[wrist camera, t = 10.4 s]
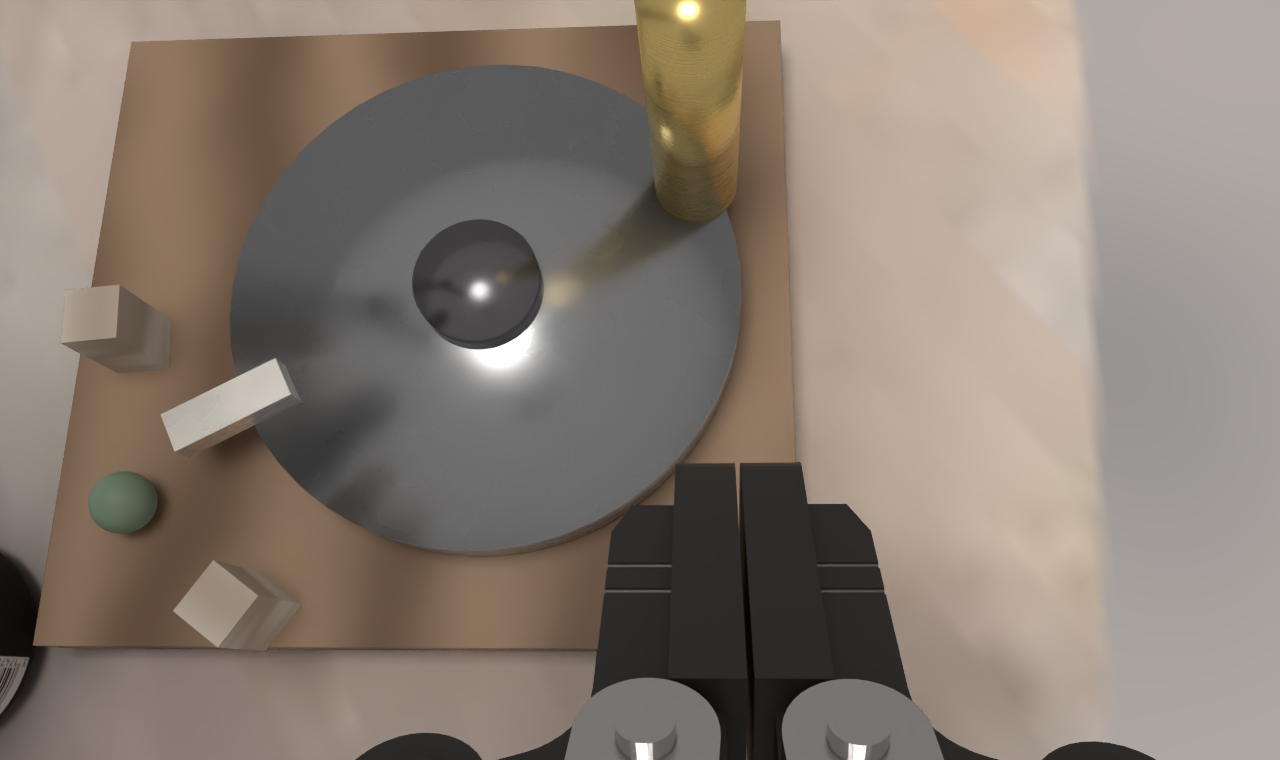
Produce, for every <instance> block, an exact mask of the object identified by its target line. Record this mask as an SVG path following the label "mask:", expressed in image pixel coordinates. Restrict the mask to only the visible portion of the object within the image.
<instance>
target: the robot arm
mask: <svg viewBox="0 0 1280 760" xmlns="http://www.w3.org/2000/svg"><path fill="white" fill-rule="evenodd" d="M746 746H747V760H997V759H994V758H990V757H987V756H984V755H981V754H977V753H974V752H972V751H970V750H968V749H965V748H963V747H961V746H959V745H957V744H955V743H954V742H952V741H950V740H949V739H947V738H946V737H944V736H943V735H942V734H940V733H939V732H938V731H936V730H935V729H934V728H933V727H932V725H931V723H930V721H929V720H928V718H927V717H926V715H925V714H924V713H923V711H922V710H921V709H920V708H919V707H918V706H917V705H916V704H915V703H914V702H913V701H912V699H911V696H910V693H909V690H908V687H907V682H906V678H905V674H904V670H903V665H902V661H901V657H900V653H899V648H898V644H897V640H896V636H895V632H894V627H893V623H892V619H891V615H890V610H889V606H888V602H887V598H886V594H884V585H883V581H882V577H881V572H880V568H878V560H877V555H876V551H875V547H874V543H873V538H872V534H871V531H870V530H869V529H868V527H867V526H866V525H865V524H864V523H863V522H862V521H861V520H860V519H859V517H858V516H857V515H856V514H855V513H854V512H853V511H852V510H851V509H850V507H849V506H848V505H847V504H807V497H806V491H805V485H804V478H803V472H802V466H801V463H800V462H792V463H740V475H739V522H738V504H737V486H736V469H735V463H677V464H675V488H674V505H632V506H631V507H630V508H629V510H628V511H627V512H626V514H625V515H624V516H623V517H622V519H621V520H620V521H619V523H618V524H617V525H616V527H615V528H614V529H613V530H612V532H611V539H610V547H609V556H608V569H607V573H606V581H605V594H604V598H603V607H602V615H601V624H600V632H599V641H598V649H597V658H596V666H595V675H594V683H593V690H592V694H591V698H590V699H589V700H588V701H587V702H586V703H585V704H584V705H583V707H582V708H581V709H580V711H579V712H578V714H577V716H576V717H575V720H574V723H573V726H572V727H571V728H570V729H568V730H567V731H566V732H565V733H564V734H562V735H561V736H559V737H558V738H556V739H555V740H553V741H551V742H550V743H548V744H545V745H543V746H541V747H539V748H537V749H534V750H531V751H528V752H525V753H521V754H517V755H514V756H510V757H506V758H502V759H499V760H746ZM356 760H482V759H481V758H480V756H479V755H478V753H477V752H476V751H474V750H473V749H472V748H471V747H470V746H469V745H467V744H466V743H464V742H462V741H461V740H458V739H456V738H453V737H451V736H447V735H442V734H436V733H417V734H409V735H405V736H400V737H397V738H394V739H391V740H388V741H385V742H383V743H381V744H379V745H377V746H375V747H373V748H372V749H370V750H369V751H367V752H365V753H364V754H362V755H361V756H360V757H358V758H357V759H356ZM1043 760H1155V759H1154V758H1152V757H1150V756H1148V755H1145V754H1143V753H1141V752H1139V751H1136V750H1133V749H1130V748H1127V747H1125V746H1120V745H1116V744H1111V743H1104V742H1079V743H1073V744H1068V745H1066V746H1063V747H1060V748H1058V749H1056V750H1054V751H1053V752H1051V753H1049V754H1048V755H1047V756H1046V757H1045V758H1044V759H1043Z"/></svg>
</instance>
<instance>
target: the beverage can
mask: <svg viewBox="0 0 1280 760" xmlns="http://www.w3.org/2000/svg"><path fill="white" fill-rule="evenodd" d="M35 629H36V614H35V607H34V603H33V599H32V596H31V593H30V590H29V588H28V586H27V584H26V582H25V580H24V578H23V576H22V575H21V574H20V572H19V571H18V570H17V568H16V567H15V566H14V565H13V564H12V563H11V562H10V561H9V560H8V559H7V558H6V557H5V556H4V555H2V554H1V553H0V718H1V716H2V715H3V714H4V713H5V712H6V711H7V709H8V708H9V706H10V705H11V704H12V702H13V701H14V700H15V698H16V696H17V694H18V693H19V691H20V689H21V687H22V686H23V683H24V681H25V679H26V676H27V674H28V672H29V669H30V665H31V662H32V659H33V655H34V650H35V646H33V641H34V635H35Z"/></svg>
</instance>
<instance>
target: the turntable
mask: <svg viewBox="0 0 1280 760" xmlns="http://www.w3.org/2000/svg"><path fill="white" fill-rule="evenodd" d="M504 64H506V65H521V66H535V67H541V68H547V69H552V70H557V71H562V72H567V73H570V74H574V75H577V76H580V77H583V78H586V79H589V80H592V81H595V82H598V83H600V84H602V85H604V86H606V87H609V88H611V89H613V90H615V91H617V92H619V93H622V94H624V95H625V96H627V97H629V98H630V99H632V100H633V101H635V102H636V103H638V104H640V105H641V106H643V107H644V108H646V100H645V91H644V82H643V73H642V64H641V55H640V46H639V37H638V28H637V25H629V26H599V27H568V28H538V29H508V30H478V31H447V32H417V33H387V34H356V35H326V36H296V37H266V38H235V39H205V40H175V41H144V42H132V43H131V49H130V55H129V61H128V67H127V73H126V79H125V85H124V92H123V98H122V104H121V110H120V116H119V122H118V128H117V134H116V140H115V147H114V153H113V159H112V165H111V171H110V177H109V183H108V189H107V195H106V202H105V208H104V214H103V220H102V226H101V232H100V238H99V244H98V250H97V257H96V263H95V269H94V275H93V281H92V287H91V288H81V289H71V290H65V296H64V309H63V321H62V333H61V343H62V344H64V345H65V346H67V347H69V348H71V349H73V350H75V351H77V352H79V353H81V354H80V360H79V367H78V373H77V379H76V385H75V391H74V397H73V403H72V409H71V415H70V421H69V428H68V434H67V440H66V446H65V452H64V458H63V464H62V470H61V476H60V483H59V489H58V495H57V501H56V507H55V513H54V519H53V525H52V531H51V538H50V544H49V550H48V556H47V562H46V568H45V574H44V580H43V586H42V593H41V599H40V605H39V611H38V617H37V623H36V629H35V635H34V641H33V646H47V647H63V648H144V649H242V650H254V651H266V650H267V649H331V650H518V651H597V649H598V641H599V632H600V624H601V615H602V607H603V598H604V594H605V581H606V573H607V569H608V556H609V547H610V539H611V532H612V530H613V529H614V528H615V527H616V525H617V524H618V523H619V521H620V520H621V519H622V517H623V516H624V515H625V514H626V513H624V514H623V515H621V516H619V517H618V518H616V519H614V520H613V521H611V522H609V523H608V524H606V525H604V526H603V527H601V528H599V529H596V530H594V531H592V532H590V533H587V534H585V535H583V536H580V537H578V538H576V539H574V540H571V541H568V542H565V543H562V544H558V545H555V546H551V547H548V548H544V549H541V550H537V551H532V552H525V553H518V554H512V555H505V556H474V557H468V556H459V555H450V554H441V553H434V552H430V551H426V550H422V549H418V548H414V547H411V546H407V545H403V544H400V543H398V542H395V541H393V540H391V539H388V538H386V537H383V536H381V535H378V534H376V533H373V532H371V531H369V530H367V529H365V528H362V527H360V526H358V525H356V524H354V523H352V522H351V521H349V520H347V519H346V518H344V517H342V516H341V515H339V514H337V513H335V512H334V511H332V510H330V509H329V508H327V507H326V506H324V505H323V504H322V503H321V502H319V501H318V500H317V499H316V498H314V497H313V496H312V495H311V494H309V493H308V492H307V491H306V490H304V489H303V488H302V487H301V486H300V485H299V484H298V483H297V482H296V481H295V480H294V479H293V478H292V477H291V476H290V475H289V474H288V473H287V471H286V470H285V469H284V468H283V467H282V466H281V465H280V464H279V463H278V461H277V460H276V459H275V457H274V456H273V454H272V453H271V451H270V450H269V448H268V447H267V446H266V444H265V443H264V441H263V440H262V438H261V437H260V435H259V433H258V431H257V429H256V427H255V425H254V426H252V427H250V428H248V429H246V430H244V431H242V432H240V433H238V434H236V435H234V436H232V437H230V438H228V439H226V440H224V441H222V442H220V443H218V444H216V445H214V446H211V447H209V448H207V449H205V450H203V451H201V452H199V453H197V454H195V455H193V456H191V457H189V458H187V457H185V456H183V455H181V454H178V453H176V452H174V449H173V446H172V444H171V441H170V438H169V436H168V433H167V430H166V428H165V425H164V423H163V420H162V417H161V415H160V414H162V413H164V412H167V411H169V410H171V409H173V408H175V407H177V406H179V405H181V404H183V403H185V402H187V401H189V400H191V399H193V398H195V397H197V396H199V395H201V394H203V393H205V392H207V391H209V390H211V389H213V388H215V387H217V386H219V385H221V384H223V383H226V382H228V381H230V380H232V379H234V378H236V374H235V368H234V362H233V357H232V351H231V338H230V308H231V298H232V289H233V282H234V278H235V274H236V269H237V265H238V261H239V257H240V253H241V250H242V248H243V245H244V242H245V240H246V237H247V235H248V232H249V229H250V227H251V224H252V222H253V220H254V218H255V217H256V215H257V213H258V211H259V209H260V207H261V205H262V203H263V201H264V200H265V198H266V196H267V194H268V193H269V192H270V190H271V189H272V187H273V186H274V184H275V183H276V182H277V180H278V179H279V177H280V176H281V174H282V173H283V172H284V170H285V169H286V168H287V167H288V166H289V164H290V163H291V162H292V161H293V160H294V159H295V158H296V157H297V155H298V154H299V153H300V152H301V151H302V150H303V149H304V148H305V147H306V146H307V145H308V144H309V143H310V142H311V141H312V140H313V139H314V138H316V137H317V136H318V135H319V134H320V133H321V132H322V131H323V130H325V129H326V128H327V127H328V126H329V125H330V124H332V123H333V122H335V121H336V120H337V119H339V118H340V117H342V116H343V115H345V114H346V113H347V112H349V111H350V110H352V109H353V108H355V107H356V106H358V105H360V104H362V103H363V102H365V101H367V100H369V99H371V98H373V97H374V96H376V95H378V94H380V93H382V92H384V91H386V90H389V89H391V88H393V87H396V86H398V85H401V84H403V83H406V82H408V81H411V80H413V79H417V78H420V77H424V76H427V75H431V74H434V73H438V72H441V71H446V70H452V69H459V68H465V67H471V66H483V65H504ZM726 211H727V213H728V216H729V219H730V222H731V225H732V228H733V231H734V234H735V239H736V245H737V250H738V256H739V261H740V269H741V293H742V301H741V313H740V324H739V334H738V344H737V350H736V354H735V358H734V362H733V366H732V371H731V375H730V378H729V381H728V384H727V386H726V389H725V391H724V394H723V396H722V399H721V401H720V404H719V407H718V409H717V411H716V412H715V414H714V416H713V418H712V420H711V421H710V423H709V425H708V427H707V429H706V430H705V432H704V434H703V436H702V437H701V439H700V440H699V441H698V443H697V444H696V445H695V447H694V448H693V449H692V451H691V452H690V453H689V455H688V456H687V458H686V459H685V460H684V462H683V463H735V469H736V486H737V504H738V522H739V475H740V463H792V462H795V435H794V406H793V377H792V348H791V320H790V291H789V262H788V233H787V204H786V176H785V147H784V118H783V89H782V61H781V32H780V21H750V22H745V34H744V54H743V73H742V93H741V113H740V132H739V152H738V172H737V189H736V194H735V197H734V199H733V201H732V203H731V205H730V206H729V207H728V209H727V210H726ZM674 488H675V471H674V472H673V473H672V474H671V475H670V476H669V477H668V479H667V480H666V481H665V482H664V483H663V484H662V485H661V486H660V487H659V488H658V489H656V490H655V491H654V492H653V493H651V494H650V495H649V496H648V497H646V498H645V499H644V500H643V501H641V502H640V503H639V504H637V505H674Z"/></svg>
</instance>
